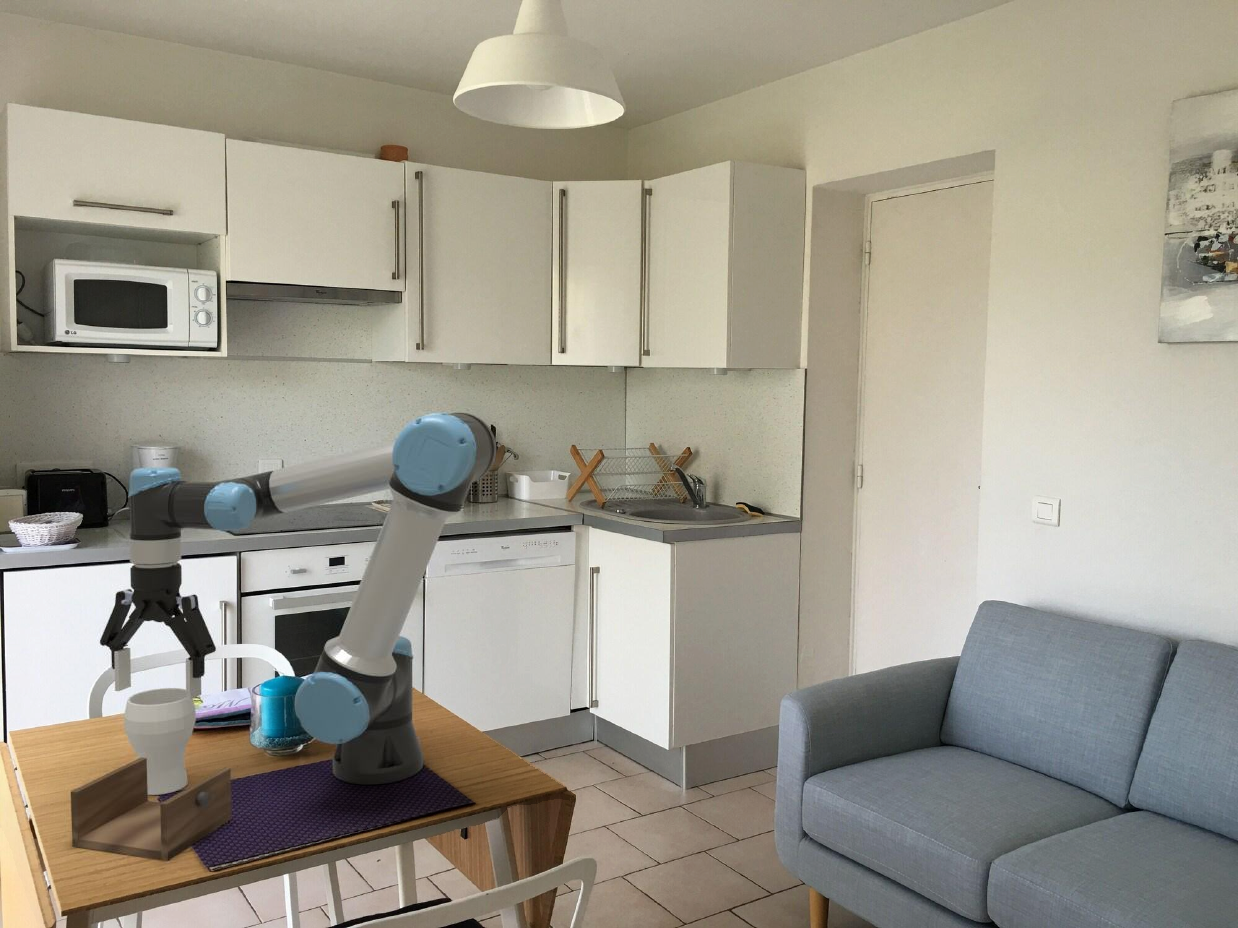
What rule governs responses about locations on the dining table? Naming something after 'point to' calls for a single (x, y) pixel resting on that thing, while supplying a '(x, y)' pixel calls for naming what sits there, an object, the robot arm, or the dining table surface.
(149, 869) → the dining table surface
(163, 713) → the cup
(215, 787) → the holder
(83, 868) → the dining table surface
